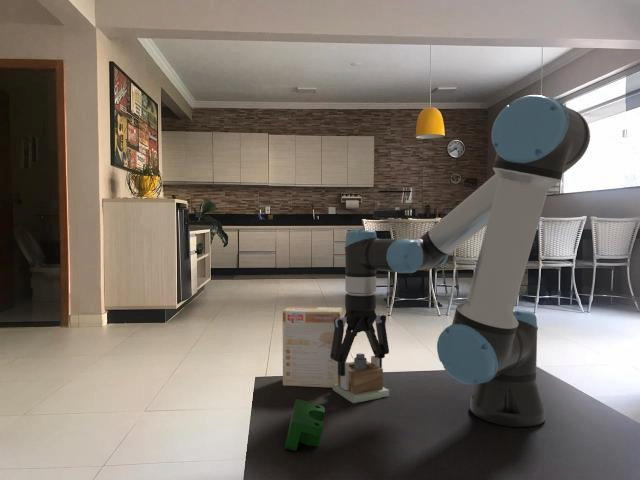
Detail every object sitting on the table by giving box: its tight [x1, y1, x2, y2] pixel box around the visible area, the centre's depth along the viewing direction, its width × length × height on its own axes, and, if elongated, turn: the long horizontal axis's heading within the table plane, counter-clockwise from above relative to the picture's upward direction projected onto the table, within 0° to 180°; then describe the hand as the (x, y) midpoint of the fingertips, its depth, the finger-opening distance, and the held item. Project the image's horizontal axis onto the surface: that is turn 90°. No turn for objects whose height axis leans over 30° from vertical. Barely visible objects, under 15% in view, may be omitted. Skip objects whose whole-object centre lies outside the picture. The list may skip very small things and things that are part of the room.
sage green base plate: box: [332, 353, 390, 404], centre depth 114 cm, size 10×10×10 cm
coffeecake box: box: [282, 306, 344, 389], centre depth 122 cm, size 15×7×20 cm, turn 82°
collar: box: [338, 360, 384, 394], centre depth 114 cm, size 8×8×5 cm
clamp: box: [284, 398, 326, 452], centre depth 89 cm, size 12×6×9 cm, turn 173°
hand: (360, 385), depth 114 cm, fingers open, 8 cm apart
